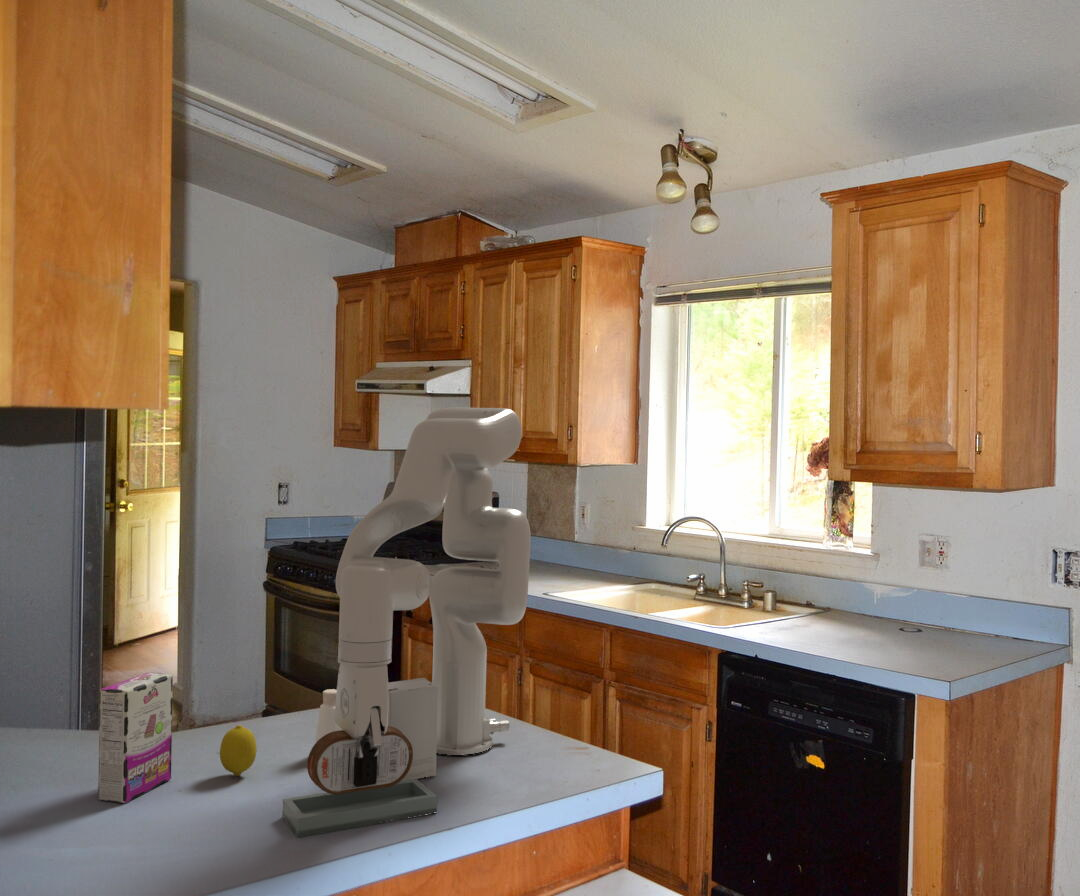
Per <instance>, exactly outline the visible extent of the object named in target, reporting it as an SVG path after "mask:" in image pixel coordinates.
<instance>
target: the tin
mask: <svg viewBox="0 0 1080 896" xmlns="http://www.w3.org/2000/svg"><path fill="white" fill-rule="evenodd" d="M369 733H370V732H369V731H366V732H365V734H369ZM381 738H382V746H381V747H379V748H378V756H377V782H376V784H374V785H367V786H360V787H356V786H354V784H353V782H354V757H357V739H354V738H352V737H351V736H350V735H348V734H347V733H346V732H345V731H344V730H340V731H334V732H330V733H328V734H326V735H324V736H323V737H322V738H320V739H319V740H318V741H317V742H316V741H315V743H314V745H313V746H312V747H311V749H310V751H309V753H308V754H309V755H308V756H307V764H306V766H307V767H306V768H307V773H308V775H309V778H310V779H311V781H312V783H313V784H314V785H316V787H317V788H319V789H320V790H321V791H323V792H324V793H330V794H344V793H351V792H358V791H365V790H372V789H379V788H386V787H391V786H393V785H395V784H397V783H399V782H400V781H401V780H402V779H403V778H404V777H405V776H406V775H407V773H408V772H409V770H410V767H411V764H412V760H413V749H412V745H411V743H410V741H409V740H408V738H407V737H406V736H405V735H404V734H403V733H402V732H401V731H400V730H398V729H397V728H394V727H391V726H388V727H387V732H386V733H385V734H384V735H383V736H381ZM368 741H369V740H363V746H364V743H365V742H368Z"/></svg>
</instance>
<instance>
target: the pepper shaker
mask: <svg viewBox="0 0 1080 896" xmlns="http://www.w3.org/2000/svg"><path fill="white" fill-rule="evenodd" d="M336 694H337V689H335V688H332V689H330V688H329V689H328V688H327V689H325V690H323V691H322V703H321V704H320V706H319V712H318V713H319V714H318V722H317V729H316V736H315V737H316V738H315V743H316V742H317V741H318V740H319V739H320V738H322V737H323V736H324V735H326V734H328V733H330V732H334V731H340V730H342V729H341V728H340V727H339V726H338V725H337V724H336V722H335V707H336Z"/></svg>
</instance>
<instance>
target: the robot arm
mask: <svg viewBox="0 0 1080 896" xmlns="http://www.w3.org/2000/svg"><path fill="white" fill-rule="evenodd" d="M522 435H523V430H522V423H521V420H520V417H519V416H518V414H517V413H516V412H515V411H513V410H512V409H510V408H505V407H467V406H466V407H460V406H459V407H444V408H439V409H436V410H434V411H431V412H430V413H429V414H428V416H427V417H426V420H423V421H421V422H419V423H418V424H417V425H416V426H415V427H414V428H413V430H412V433H411V436H410V438H409V442H408V444H407V448H406V450H405V453H404V456H403V458H402V462H401V466H400V468H399V471H398V474H397V476H396V480H395V483H394V487H393V490H392V491H391V493H390V495H389V496H388V497H386V498H385V499H384V500H382V501H381V502H379V503H378V504H377V505H375V506H374V508H372V509H370V510H369V512H368V513H366V514H365V516H363V518H361V519H360V520H359V521H358V522H357V524H356V525H354V528H353V529H352V530H351V531H350V532H349V533H350V534H349V536H348V538H347V540H346V543H345V544H344V548H343V551H342V554H341V557H340V560H339V563H338V567H337V571H336V574H335V575H336V576H335V591H336V593H337V596H338V597H339V619H338V621H339V624H338V649H337V650H338V651H337V653H338V654H337V655H338V656H337V662H338V664H339V667H338V672H337V673H338V675H337V682H336V683H337V684H336V690H337V694H336V707H335V722H336V724H337V725H338V726H339V727H340V728H341V729H342V730H344V731H345V732H346V733H347V734H348V735H350V736H351V737H352V738H354V739H357V757H354V782H353V784H354V786H356V787H360V786H367V785H374V784H376V782H377V756H378V748H379V747H381V746H382V738H381V736H383V735H384V734H385V733H386V732H387V727H388V707H389V699H388V683H389V677H388V675H389V674H388V665H389V664H390V663H392V657H393V656H392V654H393V653H392V652H393V650H392V649H393V629H394V628H393V626H394V624H393V623H394V611H412V610H415V609H417V608H420V607H421V606H423V604H424V603H425V602H426V601H427V600H428V598H429V606H430V612H431V619H432V632H433V633H432V637H433V638H432V639H433V640H432V642H433V643H432V645H433V646H432V650H433V651H432V673H431V674H432V679H431V683H433V684H435V685H436V686H438V688H437V747H436V753H439V754H438V755H441V754H447V755H446V756H451V755H461V754H473V753H479V752H482V751H485V750H487V751H489V750H490V749H491V748H493V746H492V745H494V739H493V737H492V735H494V733H496V732H497V733H500V732H508V731H509V730H510V726H511V725H510V722H509V720H508V719H503V720H498V721H497V719H496V718H490V719H488V718H486V692H487V691H486V689H487V688H486V686H487V659H488V658H487V655H488V653H487V651H488V650H487V644H486V640H485V637H484V635H483V633H482V631H481V630H480V628H479V627H478V625H477V624H478V623H479V624H492V625H499V626H500V625H502V626H510V625H516V624H518V623H519V622H520V621H521V620H522V619H523V617H524V615H525V613H526V609H527V603H528V594H529V593H528V592H529V577H530V563H531V562H530V561H531V560H530V559H531V545H532V543H531V539H532V537H531V528H530V527H531V526H530V524H529V520H528V518H527V516H526V514H525V513H523V512H522V511H520V510H518V509H515V508H510V507H509V508H508V507H493V486H494V485H493V483H494V482H493V477H492V474H491V472H490V471H489V470H490V469H493V468H495V467H497V466H498V465H500V464H501V463H502V462H504V461H506V460H507V459H509V458H511V457H512V456H513V455H514V454H515V453H516V451H517V450H518V448H519V446H520V444H521V441H522ZM442 512H443V518H442V521H443V522H442V530H441V531H442V533H441V534H442V537H441V539H442V540H441V541H442V548H443V551H444V552H445V553H446V555H448V556H449V557H451V558H454V559H459V560H467V561H480V562H481V561H485V562H497V563H498V566H499V569H495V568H494V569H493V568H482V567H470V566H469V567H467V566H466V567H465V566H451V567H450V566H449V567H446V568H443V569H441V570H439V571H437V572H436V573H435V574H433V577H431V573H430V571H429V569H428V567H426V566H425V565H424V563H421V562H419V561H418V560H417V561H416V560H414V559H413V560H412V559H407V558H392V557H379V556H374V555H375V553H376V552H377V551H378V549H380V547H381V546H382V545H383V544H384V543H385V542H387V541H388V540H389V539H391V538H392V537H394V536H396V535H398V534H400V533H403V532H405V531H408V530H410V529H412V528H416V527H418V526H420V525H423V524H426V523H427V522H430V521H432V520H434V519H436V518H437V517H439V516H440V514H442ZM366 731H369V732H370V733H369V734H365V732H366ZM363 740H369V741H368V742H365V743H364V746H363ZM489 748H490V749H489ZM488 749H489V750H488ZM485 752H486V751H485ZM482 753H483V752H482ZM479 754H480V753H479ZM473 755H474V754H473Z"/></svg>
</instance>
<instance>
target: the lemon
mask: <svg viewBox="0 0 1080 896" xmlns="http://www.w3.org/2000/svg"><path fill="white" fill-rule="evenodd" d="M257 749H258V748H257V741H256V738H255V736H254V733H253V732H252V731H251V730H250V729H249V728H246V727H245V726H242V725H241V724H237V725H236V726H235V727H233V728H231V729H230V730H228V731H227V732H226V733H225V734H224V736H223V738H222V739H221V742H220V748H219V759H220V763H221V765H222V767H223V768H224V769H225V770H226V771H227V772H229V773H232V774H233V775H234V776H235V777H239V776H241V775H242V774H243V773H244V772H245V771H248V770H249V769H250V768H251V767H252V766H253V764H254V762H255V760H256V756H257Z"/></svg>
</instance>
